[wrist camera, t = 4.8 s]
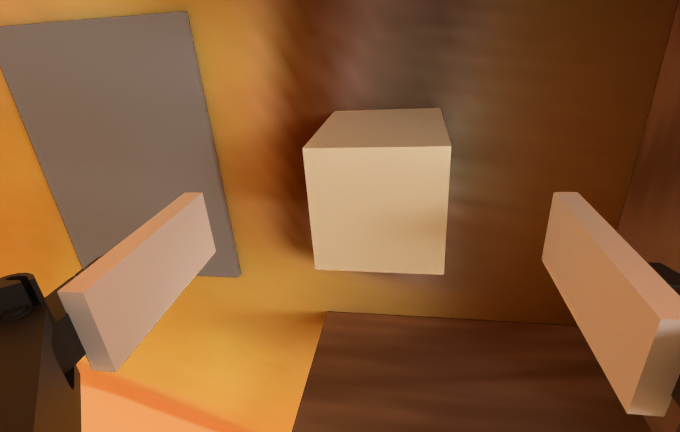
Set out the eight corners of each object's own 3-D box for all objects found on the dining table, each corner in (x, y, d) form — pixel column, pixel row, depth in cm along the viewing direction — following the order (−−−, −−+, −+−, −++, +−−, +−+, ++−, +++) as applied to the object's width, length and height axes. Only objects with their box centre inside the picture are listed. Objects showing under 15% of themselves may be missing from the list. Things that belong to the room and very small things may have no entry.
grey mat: (-9, 27, 22) (-16, 27, 22) (187, 11, 20) (182, 11, 20) (87, 267, 29) (83, 270, 29) (240, 274, 27) (238, 277, 27)
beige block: (334, 110, 21) (302, 148, 15) (439, 107, 20) (451, 145, 14) (340, 204, 24) (315, 270, 18) (435, 205, 23) (443, 274, 17)
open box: (286, -101, 18) (158, -221, 9) (759, -162, 14) (1300, -445, 6) (328, 325, 28) (289, 466, 19) (608, 342, 25) (716, 522, 16)
